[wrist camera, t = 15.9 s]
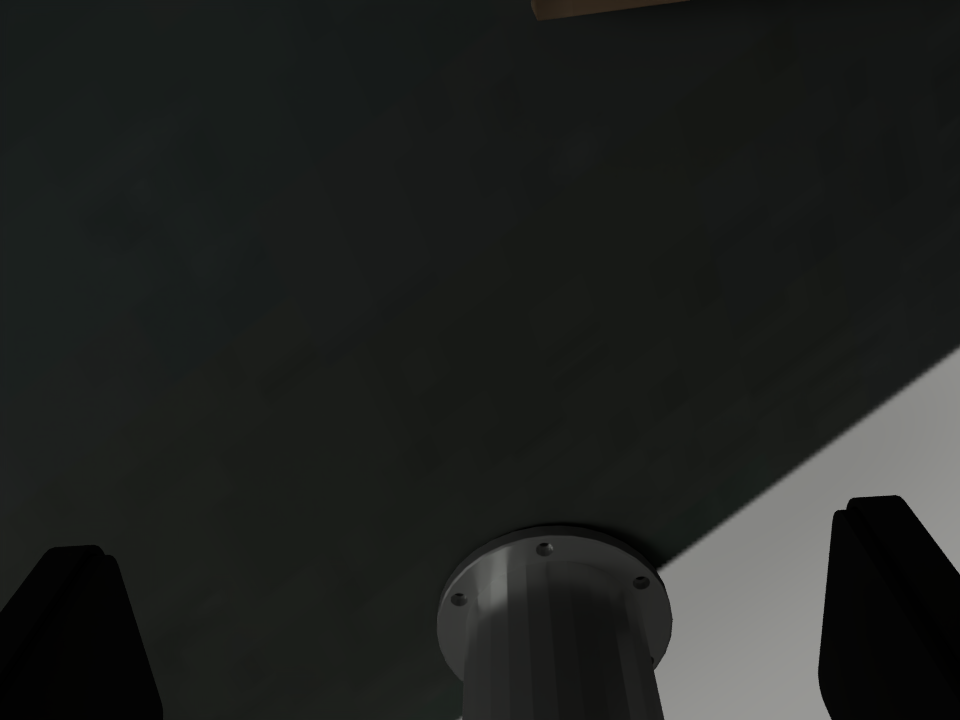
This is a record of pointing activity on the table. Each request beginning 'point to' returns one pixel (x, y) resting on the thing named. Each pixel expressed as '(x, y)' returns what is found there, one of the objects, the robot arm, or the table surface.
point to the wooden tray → (586, 6)
